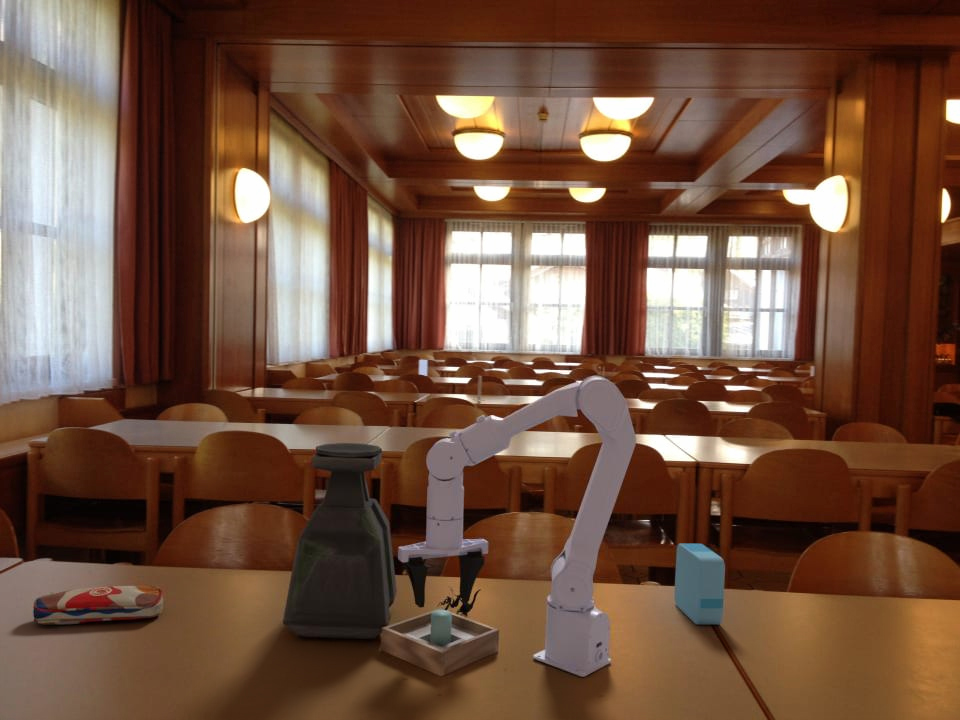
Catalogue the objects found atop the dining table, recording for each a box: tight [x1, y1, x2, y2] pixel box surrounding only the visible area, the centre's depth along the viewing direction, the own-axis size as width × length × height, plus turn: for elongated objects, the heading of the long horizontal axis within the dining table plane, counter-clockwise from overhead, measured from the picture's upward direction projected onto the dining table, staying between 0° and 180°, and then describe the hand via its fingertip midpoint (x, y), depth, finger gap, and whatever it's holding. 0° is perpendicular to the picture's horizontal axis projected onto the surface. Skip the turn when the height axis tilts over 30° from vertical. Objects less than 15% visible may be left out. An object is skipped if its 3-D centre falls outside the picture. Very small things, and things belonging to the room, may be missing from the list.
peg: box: [430, 609, 453, 647], centre depth 124 cm, size 3×3×6 cm
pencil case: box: [32, 585, 164, 625], centre depth 132 cm, size 11×20×5 cm, turn 92°
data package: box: [674, 543, 726, 626], centre depth 145 cm, size 12×4×12 cm, turn 6°
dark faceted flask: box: [282, 442, 398, 640], centre depth 133 cm, size 18×16×30 cm
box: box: [380, 607, 500, 677], centre depth 124 cm, size 13×13×4 cm
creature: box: [437, 586, 482, 617], centre depth 141 cm, size 8×5×8 cm
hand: (442, 602), depth 124 cm, fingers open, 7 cm apart
